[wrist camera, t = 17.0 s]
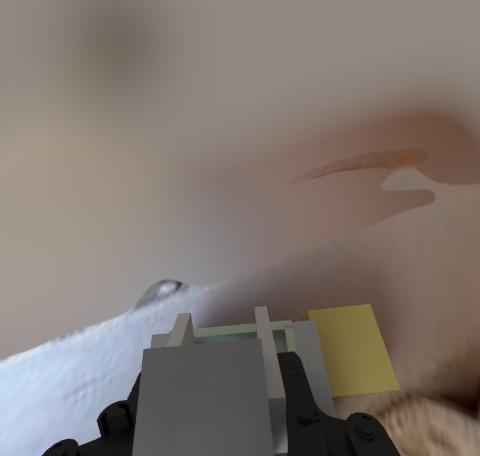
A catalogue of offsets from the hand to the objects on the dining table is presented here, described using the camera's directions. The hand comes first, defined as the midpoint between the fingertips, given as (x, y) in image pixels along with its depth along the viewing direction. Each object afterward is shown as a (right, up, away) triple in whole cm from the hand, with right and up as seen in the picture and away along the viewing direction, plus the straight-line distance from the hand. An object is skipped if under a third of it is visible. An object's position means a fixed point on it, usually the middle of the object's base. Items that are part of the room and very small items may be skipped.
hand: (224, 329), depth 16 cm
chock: (+11, -7, +11) cm, 17 cm away
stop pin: (0, -5, +1) cm, 5 cm away
